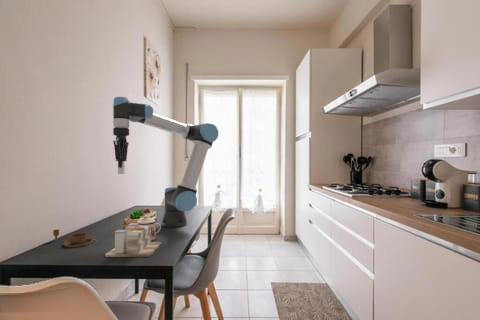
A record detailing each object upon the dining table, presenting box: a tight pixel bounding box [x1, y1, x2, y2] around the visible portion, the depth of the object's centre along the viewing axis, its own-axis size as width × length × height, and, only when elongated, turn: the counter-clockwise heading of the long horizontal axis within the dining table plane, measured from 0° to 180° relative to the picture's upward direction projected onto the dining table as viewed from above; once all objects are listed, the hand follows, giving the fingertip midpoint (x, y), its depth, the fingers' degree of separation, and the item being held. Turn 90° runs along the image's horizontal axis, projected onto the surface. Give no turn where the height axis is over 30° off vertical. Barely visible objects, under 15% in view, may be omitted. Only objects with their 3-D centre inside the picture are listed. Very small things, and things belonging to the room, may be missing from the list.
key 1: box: [114, 229, 127, 253], centre depth 114 cm, size 3×4×9 cm
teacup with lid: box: [136, 215, 162, 242], centre depth 139 cm, size 12×9×12 cm
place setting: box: [52, 229, 98, 249], centre depth 133 cm, size 18×20×6 cm
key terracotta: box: [124, 225, 136, 234], centre depth 121 cm, size 3×4×9 cm
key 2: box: [127, 222, 139, 229], centre depth 127 cm, size 3×4×9 cm
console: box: [104, 225, 162, 258], centre depth 121 cm, size 17×18×10 cm
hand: (121, 174), depth 141 cm, fingers closed
